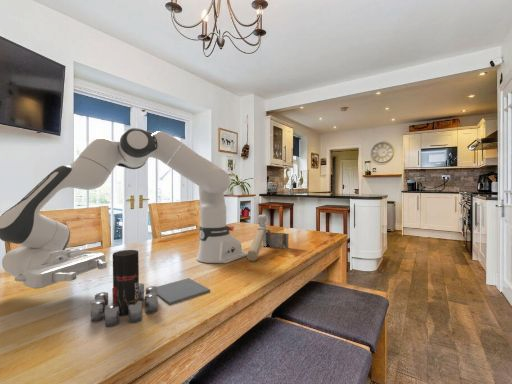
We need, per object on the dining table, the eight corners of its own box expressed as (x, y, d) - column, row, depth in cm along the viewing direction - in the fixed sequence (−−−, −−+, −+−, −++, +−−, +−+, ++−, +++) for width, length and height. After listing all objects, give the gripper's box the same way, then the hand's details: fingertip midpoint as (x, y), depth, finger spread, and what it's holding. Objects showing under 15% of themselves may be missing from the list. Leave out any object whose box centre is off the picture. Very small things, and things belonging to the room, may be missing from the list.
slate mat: (188, 279, 91) (188, 278, 91) (210, 291, 81) (210, 289, 81) (150, 290, 82) (150, 288, 82) (169, 304, 72) (169, 302, 72)
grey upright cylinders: (146, 292, 80) (145, 279, 80) (169, 311, 69) (169, 295, 68) (83, 309, 69) (83, 294, 69) (99, 335, 58) (99, 317, 58)
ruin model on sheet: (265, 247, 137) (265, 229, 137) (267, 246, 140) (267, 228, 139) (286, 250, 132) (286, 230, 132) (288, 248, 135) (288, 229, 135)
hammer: (257, 239, 109) (267, 214, 137) (246, 239, 110) (258, 214, 138) (258, 273, 113) (267, 242, 142) (247, 273, 114) (259, 242, 142)
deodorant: (136, 314, 67) (135, 255, 66) (110, 317, 65) (109, 256, 65) (141, 304, 72) (140, 249, 72) (117, 306, 71) (116, 250, 71)
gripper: (9, 266, 66) (50, 272, 62) (84, 247, 86) (119, 250, 82) (10, 291, 66) (51, 298, 62) (84, 266, 86) (119, 270, 82)
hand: (90, 271), depth 72 cm, fingers open, 8 cm apart
